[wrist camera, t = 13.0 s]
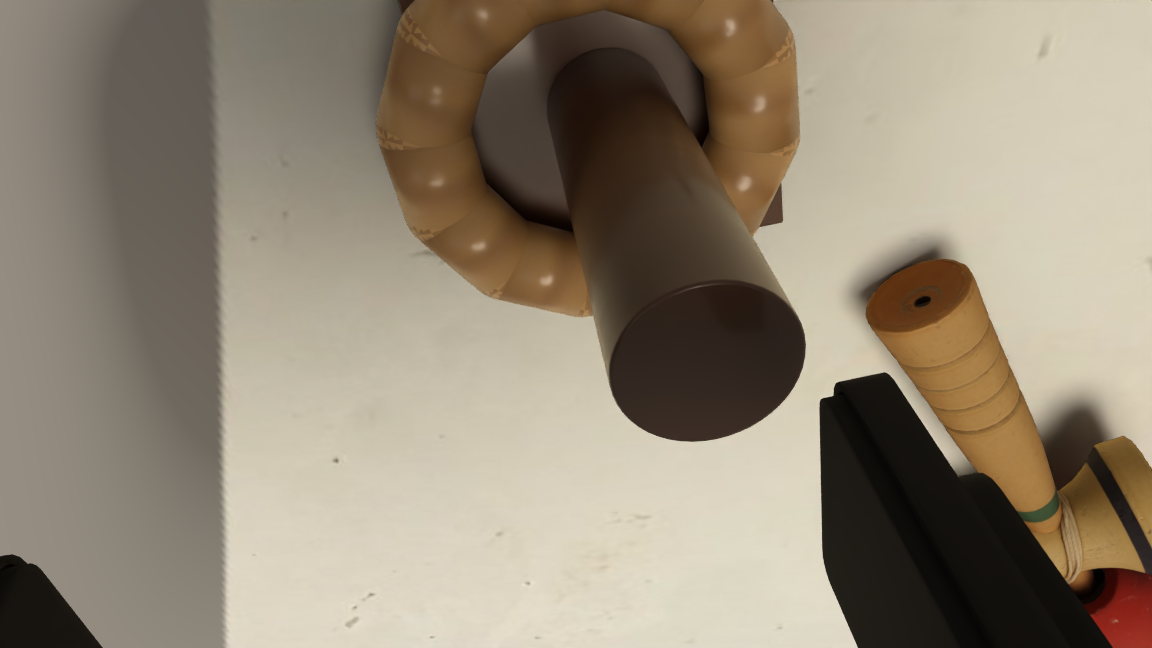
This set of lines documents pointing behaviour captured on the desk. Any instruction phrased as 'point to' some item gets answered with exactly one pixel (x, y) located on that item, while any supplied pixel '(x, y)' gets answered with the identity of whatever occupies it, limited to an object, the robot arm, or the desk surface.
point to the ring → (452, 94)
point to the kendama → (1024, 445)
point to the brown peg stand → (642, 221)
